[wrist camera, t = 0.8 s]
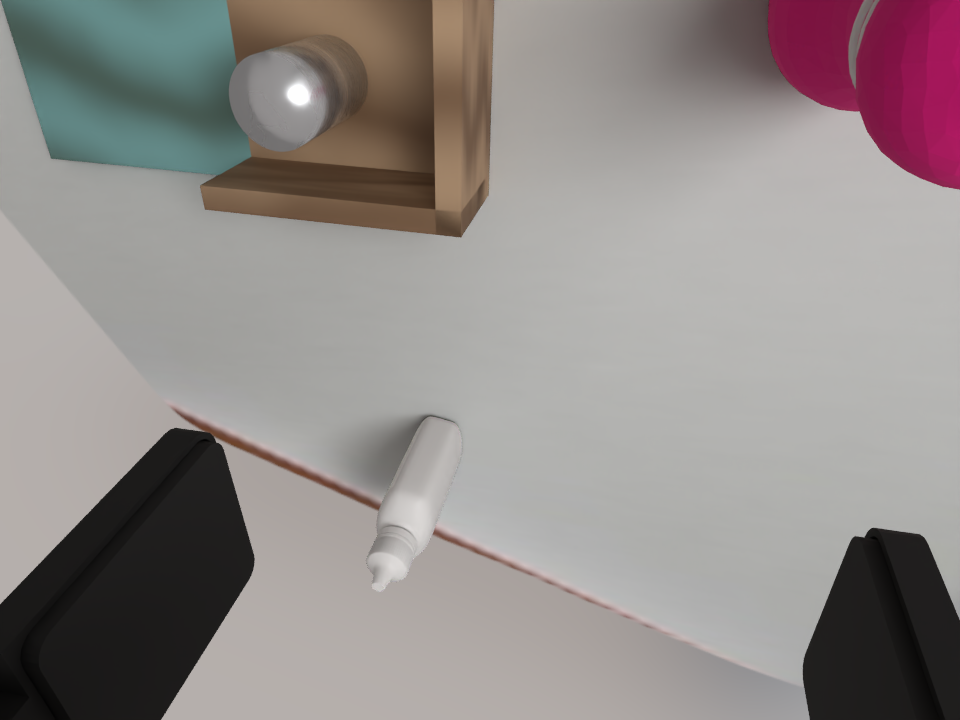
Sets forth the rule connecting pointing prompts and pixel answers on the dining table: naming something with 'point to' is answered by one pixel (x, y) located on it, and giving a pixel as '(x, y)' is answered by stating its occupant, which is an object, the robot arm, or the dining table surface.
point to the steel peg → (297, 91)
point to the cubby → (217, 135)
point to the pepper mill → (881, 72)
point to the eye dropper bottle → (414, 500)
